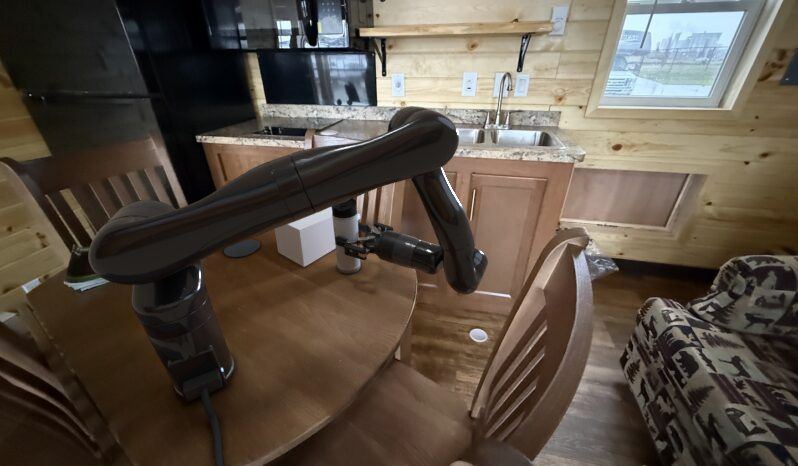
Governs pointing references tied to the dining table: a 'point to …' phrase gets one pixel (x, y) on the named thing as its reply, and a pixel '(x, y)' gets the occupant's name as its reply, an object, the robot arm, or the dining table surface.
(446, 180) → the robot arm
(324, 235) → the white box
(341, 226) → the travel mug
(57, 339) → the dining table surface
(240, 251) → the coaster
